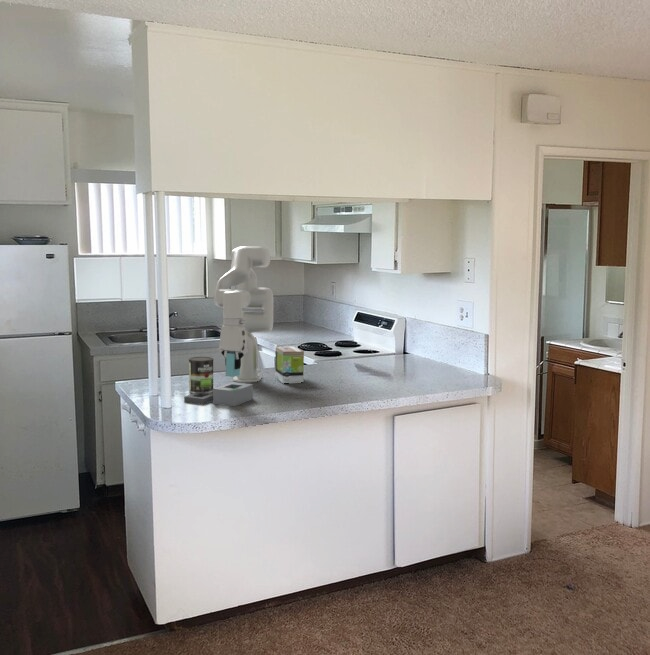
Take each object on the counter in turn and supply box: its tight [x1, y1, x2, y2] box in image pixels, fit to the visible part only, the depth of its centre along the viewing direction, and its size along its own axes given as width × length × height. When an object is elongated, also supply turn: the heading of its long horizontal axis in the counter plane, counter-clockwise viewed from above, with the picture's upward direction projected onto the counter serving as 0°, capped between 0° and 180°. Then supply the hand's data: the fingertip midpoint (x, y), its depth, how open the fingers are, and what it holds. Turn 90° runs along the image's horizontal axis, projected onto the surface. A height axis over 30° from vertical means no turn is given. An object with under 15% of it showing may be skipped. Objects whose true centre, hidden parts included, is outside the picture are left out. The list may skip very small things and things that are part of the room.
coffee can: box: [188, 356, 214, 394], centre depth 300 cm, size 10×10×14 cm
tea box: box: [274, 346, 305, 384], centre depth 324 cm, size 15×10×15 cm, turn 18°
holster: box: [183, 392, 213, 405], centre depth 284 cm, size 10×9×2 cm
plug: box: [225, 351, 240, 378], centre depth 282 cm, size 5×4×11 cm
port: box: [212, 381, 254, 407], centre depth 284 cm, size 14×10×6 cm
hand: (233, 367), depth 282 cm, fingers closed on plug, 3 cm apart
